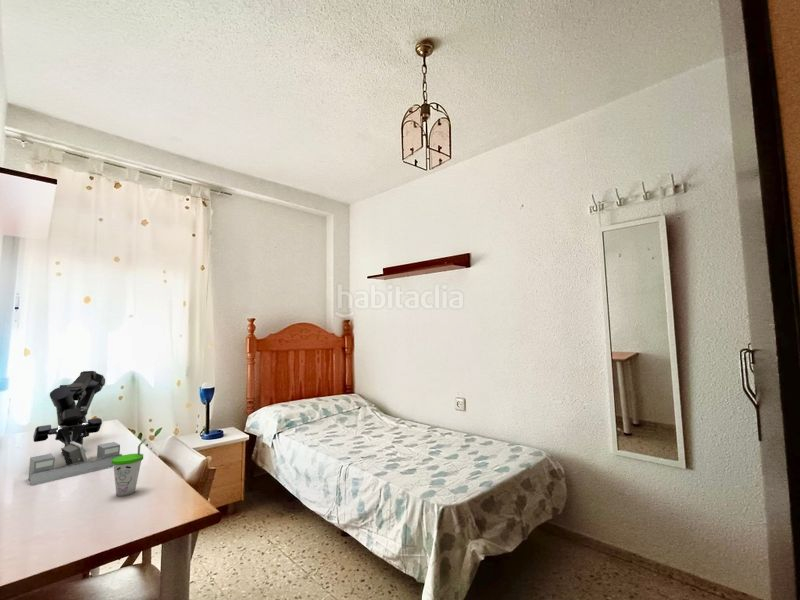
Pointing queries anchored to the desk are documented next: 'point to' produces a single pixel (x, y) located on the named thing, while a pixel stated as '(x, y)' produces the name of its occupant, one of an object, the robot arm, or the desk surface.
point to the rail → (71, 470)
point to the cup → (127, 472)
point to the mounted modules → (49, 460)
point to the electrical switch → (74, 453)
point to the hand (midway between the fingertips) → (71, 448)
